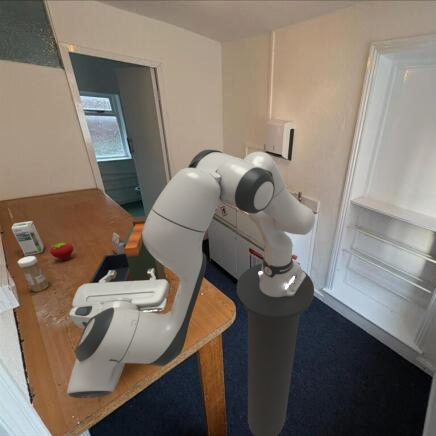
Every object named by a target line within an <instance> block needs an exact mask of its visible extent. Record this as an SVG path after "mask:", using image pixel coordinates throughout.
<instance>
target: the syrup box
mask: <svg viewBox="0 0 436 436" xmlns="http://www.w3.org/2000/svg"><path fill="white" fill-rule="evenodd" d="M11 231H12V233H13V236H14V237H15V239H16V241H17V243H18V245H19V247H20V249H21V251H22V253H23V255H24V257H28V256H34V255H37V254H42V253H43V252H44V248H45V246H44V243H43V241H42V239H41V238H40V237H41V236H40V234H39V232H38V230H37V228H36V226H35V224H34V221H33V220H30V221H23V222H14V223H13V225H12V226H11Z"/></svg>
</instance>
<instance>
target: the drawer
mask: <svg viewBox="0 0 436 436" xmlns="http://www.w3.org/2000/svg"><path fill="white" fill-rule="evenodd" d="M109 270H116V272H117V275H116V278H115V279H111V280H110V281H109V282H125V281H133V279H132V275H131V272H130V268H129V264H128V261H127V257H126V253H121V254H117V253H113V254H107V255H103V257H102V259H101V261H100V263H99V265H98V267H97V268H96V270H95V272H94V273H93V275H92V277H91V279H90V281H89V283H99V281H100V280H101V279H102V278H103V277H105V276H106V275H107V274H108V272H109Z"/></svg>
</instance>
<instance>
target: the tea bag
mask: <svg viewBox="0 0 436 436" xmlns="http://www.w3.org/2000/svg"><path fill="white" fill-rule="evenodd" d="M124 242H125V240H123V239H122V238H121V237H120V235H118V234H117V233H116V232H112V237H111V240H110V243H111V245H112V249H113V252H114V253H115V254H121V253H125V250H124V246H123V244H124Z"/></svg>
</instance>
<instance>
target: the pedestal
mask: <svg viewBox="0 0 436 436" xmlns="http://www.w3.org/2000/svg"><path fill="white" fill-rule="evenodd" d="M133 229H134V226H132V227H130V229H129V231H128V233H127V236H126V238H125V239H124V244H123V246H124V250H125V246H126V244H127V242H128V240H129V238H130V235H131V233H132V231H133ZM125 253H126V252H125ZM126 257H127V256H126ZM127 261H128V264H129V268H130V272H131V275H132V279H133V281H143V280H150V278H152V277H148V275H147V271H148V269H154V270H155V273H154V275H155V277H156V280H161V279H166V280H167V275H166V272H165V271H166V270H165V266H164V265H163V264H161V263H160V262H158V261H157V260H156V259H155V258H154V257H153V256H152V255H151V254H150V253H149V251H148V250H147V248H146V247H145V245H144V242H143V243H142V246H141V249H140V252H139V255H138V256H129V257H127Z"/></svg>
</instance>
